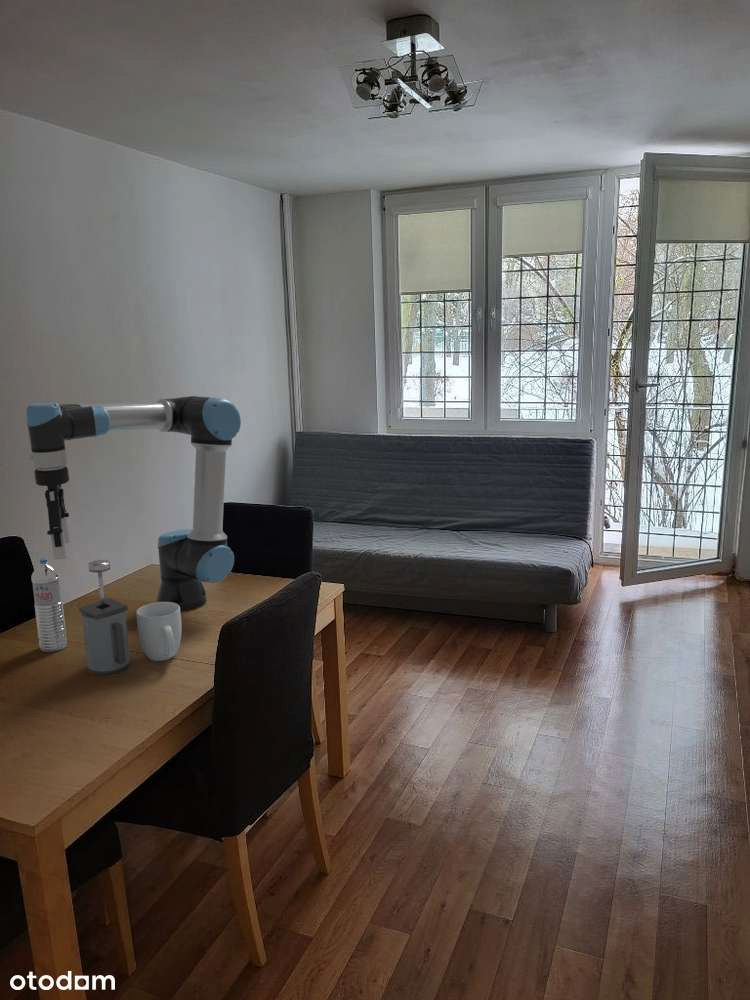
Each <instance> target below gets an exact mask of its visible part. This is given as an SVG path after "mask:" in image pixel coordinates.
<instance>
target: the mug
mask: <svg viewBox="0 0 750 1000" xmlns="http://www.w3.org/2000/svg"><path fill="white" fill-rule="evenodd" d="M135 613H136V623H137V633H138V638H139V641H140V645H141V648H142V650H143V652H144V654H145V655H146V656H147V657H148V659H149V660H151V661H154V662H159V661H160V662H162V661H167V660H168V661H169V660H170V659H172V658H174V656H175V655H176V654H177V653H178V650H179V648H180V644H181V639H182V616H181V615H182V614H181V611H180V606H179V605H178V604H175V603H172V602H157V601H156V602H151V603H148V604H145V605H142V606H140V607H139V608H138V609H137V610H136V611H135Z"/></svg>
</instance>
